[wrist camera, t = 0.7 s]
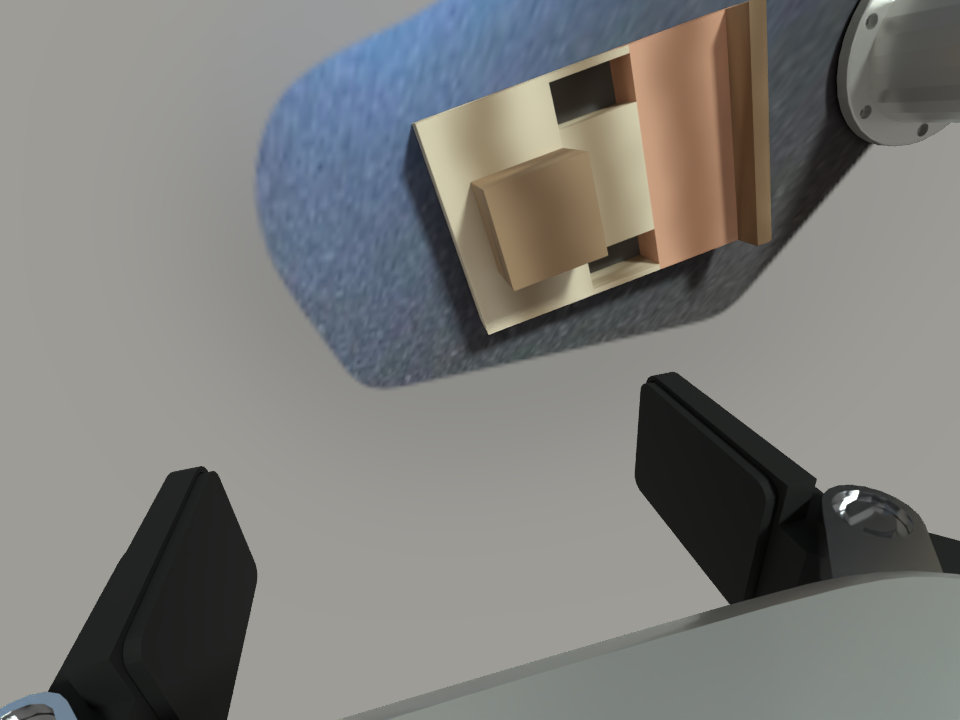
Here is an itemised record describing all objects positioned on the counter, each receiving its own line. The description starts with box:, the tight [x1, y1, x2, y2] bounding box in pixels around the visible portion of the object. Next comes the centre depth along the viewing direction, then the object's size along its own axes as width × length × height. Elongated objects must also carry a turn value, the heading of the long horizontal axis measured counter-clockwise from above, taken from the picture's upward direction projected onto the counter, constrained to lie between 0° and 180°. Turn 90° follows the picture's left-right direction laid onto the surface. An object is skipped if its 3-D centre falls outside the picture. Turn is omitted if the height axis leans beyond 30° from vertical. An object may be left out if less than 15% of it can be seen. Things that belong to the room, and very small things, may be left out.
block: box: [471, 148, 608, 291], centre depth 29 cm, size 6×6×4 cm
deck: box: [412, 0, 771, 335], centre depth 31 cm, size 20×14×5 cm
